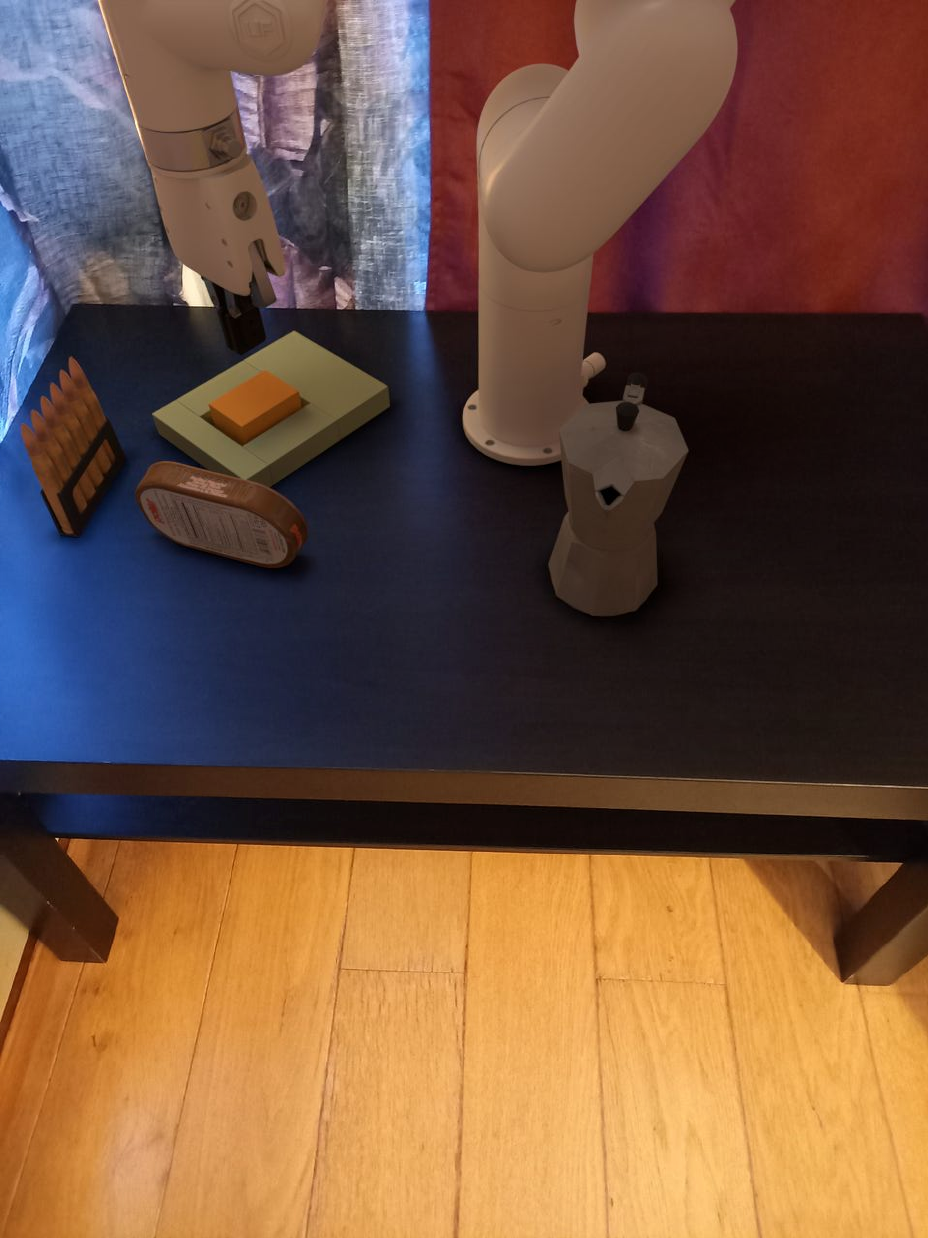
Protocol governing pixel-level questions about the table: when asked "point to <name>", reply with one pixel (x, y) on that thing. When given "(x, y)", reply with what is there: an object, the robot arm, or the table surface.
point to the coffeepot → (614, 501)
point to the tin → (221, 514)
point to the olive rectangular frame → (328, 414)
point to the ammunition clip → (72, 451)
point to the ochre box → (254, 407)
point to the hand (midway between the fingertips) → (247, 344)
